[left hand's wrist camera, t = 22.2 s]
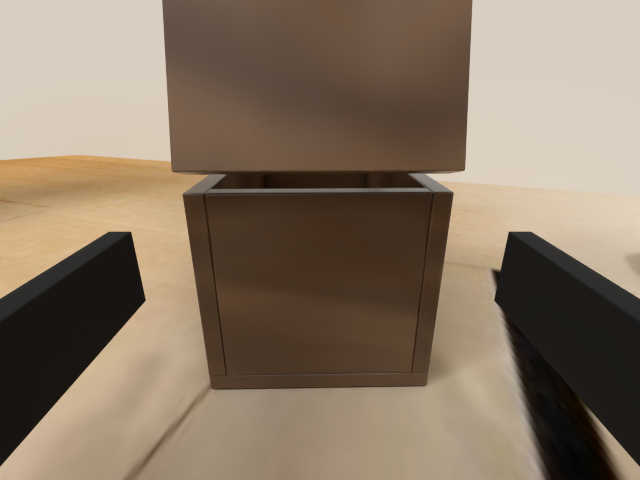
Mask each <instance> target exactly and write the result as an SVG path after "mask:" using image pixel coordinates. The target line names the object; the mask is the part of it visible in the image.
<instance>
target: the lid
mask: <svg viewBox="0 0 640 480" xmlns="http://www.w3.org/2000/svg"><path fill="white" fill-rule="evenodd" d="M162 4H163V21H164V40H165V57H166V75H167V93H168V111H169V129H170V147H171V165H172V172H175V173H181V174H186V175H207V174H425V173H454V172H460V171H464V170H465V157H466V134H467V111H468V88H469V65H470V42H471V19H472V0H162Z"/></svg>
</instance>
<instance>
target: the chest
mask: <svg viewBox="0 0 640 480" xmlns="http://www.w3.org/2000/svg"><path fill="white" fill-rule="evenodd" d="M183 200H184V207H185V214H186V220H187V227H188V234H189V241H190V247H191V254H192V261H193V268H194V274H195V281H196V288H197V295H198V301H199V308H200V315H201V322H202V328H203V335H204V342H205V349H206V355H207V362H208V369H209V375H210V381H211V387H212V388H213V389H225V388H287V387H349V386H411V385H426V383H427V375H428V369H429V362H430V355H431V348H432V341H433V334H434V327H435V320H436V313H437V306H438V299H439V292H440V285H441V278H442V271H443V264H444V257H445V250H446V243H447V236H448V229H449V222H450V215H451V208H452V201H453V192H452V191H451V190H449V189H447V188H446V187H444V186H443V185H441V184H440V183H438V182H436V181H435V180H433V179H432V178H430V177H429V176H427V175H425V174H210V175H209V176H207V177H206V178H204V179H203V180H202V181H200V182H199V183H197V184H196V185H195V186H193V187H192V188H190V189H189V190H187V191H186V192H185V193H183Z"/></svg>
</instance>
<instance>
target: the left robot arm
mask: <svg viewBox="0 0 640 480" xmlns="http://www.w3.org/2000/svg"><path fill="white" fill-rule="evenodd" d="M145 301H146V300H145V295H144V290H143V286H142V281H141V276H140V272H139V267H138V262H137V257H136V253H135V248H134V243H133V239H132V234H131V232H108V233H106V234H105V235H103V236H101V237H100V238H98V239H96V240H95V241H93V242H92V243H90V244H88V245H87V246H85V247H84V248H82V249H80V250H79V251H77V252H75V253H74V254H72V255H71V256H69V257H67V258H66V259H64V260H62V261H61V262H59V263H58V264H56V265H54V266H53V267H51V268H50V269H48V270H46V271H45V272H43V273H41V274H40V275H38V276H37V277H35V278H33V279H32V280H30V281H28V282H27V283H25V284H24V285H22V286H20V287H19V288H17V289H16V290H14V291H12V292H11V293H9V294H7V295H6V296H4V297H3V298H1V299H0V466H1V465H2V464H3V463H4V462H5V461H6V459H7V458H8V457H9V456H10V455H11V454H12V453H13V451H14V450H15V449H16V448H17V447H18V446H19V445H20V443H21V442H22V441H23V440H24V439H25V438H26V437H27V435H28V434H29V433H30V432H31V431H32V430H33V429H34V427H35V426H36V425H37V424H38V423H39V422H40V421H41V419H42V418H43V417H44V416H45V415H46V414H47V413H48V411H49V410H50V409H51V408H52V407H53V406H54V405H55V403H56V402H57V401H58V400H59V399H60V398H61V397H62V395H63V394H64V393H65V392H66V391H67V390H68V389H69V387H70V386H71V385H72V384H73V383H74V382H75V381H76V379H77V378H78V377H79V376H80V375H81V374H82V373H83V371H84V370H85V369H86V368H87V367H88V366H89V365H90V363H91V362H92V361H93V360H94V359H95V358H96V357H97V355H98V354H99V353H100V352H101V351H102V350H103V349H104V348H105V346H106V345H107V344H108V343H109V342H110V341H111V340H112V338H113V337H114V336H115V335H116V334H117V333H118V332H119V330H120V329H121V328H122V327H123V326H124V325H125V324H126V322H127V321H128V320H129V319H130V318H131V317H132V316H133V314H134V313H135V312H136V311H137V310H138V309H139V308H140V306H141V305H142V304H143V303H144V302H145ZM494 301H495V302H496V303H497V304H498V305H499V306H500V308H501V309H502V310H503V311H504V312H505V313H506V314H507V316H508V317H509V318H510V319H511V320H512V321H513V322H514V324H515V325H516V326H517V327H518V328H519V329H520V330H521V332H522V333H523V334H524V335H525V336H526V337H527V338H528V340H529V341H530V342H531V343H532V344H533V345H534V346H535V348H536V349H537V350H538V351H539V352H540V353H541V354H542V355H543V357H544V358H545V359H546V360H547V361H548V362H549V363H550V365H551V366H552V367H553V368H554V369H555V370H556V371H557V373H558V374H559V375H560V376H561V377H562V378H563V379H564V381H565V382H566V383H567V384H568V385H569V386H570V387H571V389H572V390H573V391H574V392H575V393H576V394H577V395H578V397H579V398H580V399H581V400H582V401H583V402H584V403H585V405H586V406H587V407H588V408H589V409H590V410H591V411H592V413H593V414H594V415H595V416H596V417H597V418H598V419H599V421H600V422H601V423H602V424H603V425H604V426H605V427H606V429H607V430H608V431H609V432H610V433H611V434H612V435H613V437H614V438H615V439H616V440H617V441H618V442H619V443H620V445H621V446H622V447H623V448H624V449H625V450H626V451H627V453H628V454H629V455H630V456H631V457H632V458H633V459H634V461H635V462H636V463H637V464H638V465H639V466H640V299H639V298H637V297H636V296H634V295H633V294H631V293H629V292H628V291H626V290H624V289H623V288H621V287H620V286H618V285H616V284H615V283H613V282H612V281H610V280H608V279H607V278H605V277H603V276H602V275H600V274H599V273H597V272H595V271H594V270H592V269H590V268H589V267H587V266H586V265H584V264H582V263H581V262H579V261H578V260H576V259H574V258H573V257H571V256H569V255H568V254H566V253H565V252H563V251H561V250H560V249H558V248H556V247H555V246H553V245H552V244H550V243H548V242H547V241H545V240H544V239H542V238H540V237H539V236H537V235H535V234H534V233H532V232H509V234H508V239H507V243H506V248H505V253H504V257H503V262H502V267H501V272H500V276H499V281H498V286H497V290H496V295H495V300H494Z"/></svg>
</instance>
